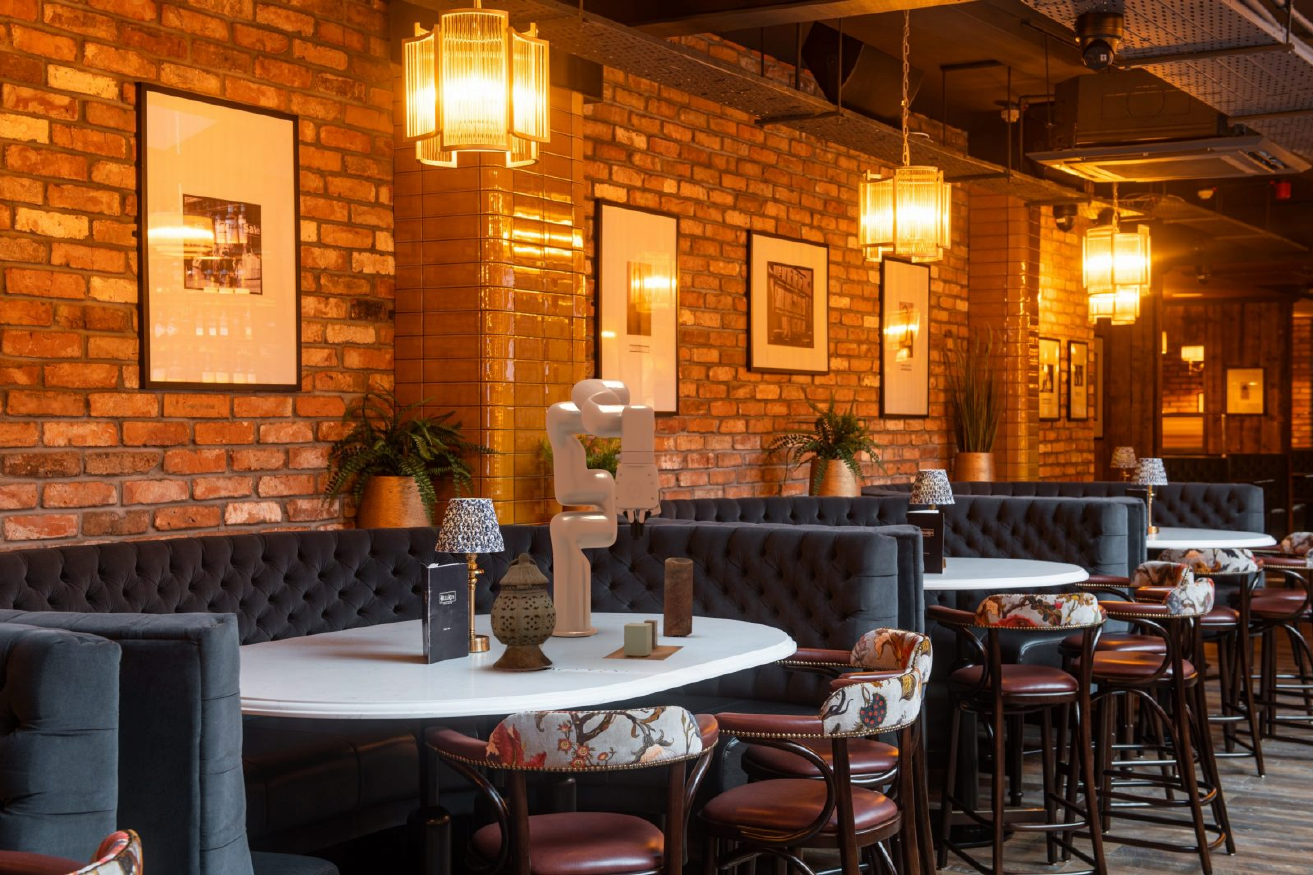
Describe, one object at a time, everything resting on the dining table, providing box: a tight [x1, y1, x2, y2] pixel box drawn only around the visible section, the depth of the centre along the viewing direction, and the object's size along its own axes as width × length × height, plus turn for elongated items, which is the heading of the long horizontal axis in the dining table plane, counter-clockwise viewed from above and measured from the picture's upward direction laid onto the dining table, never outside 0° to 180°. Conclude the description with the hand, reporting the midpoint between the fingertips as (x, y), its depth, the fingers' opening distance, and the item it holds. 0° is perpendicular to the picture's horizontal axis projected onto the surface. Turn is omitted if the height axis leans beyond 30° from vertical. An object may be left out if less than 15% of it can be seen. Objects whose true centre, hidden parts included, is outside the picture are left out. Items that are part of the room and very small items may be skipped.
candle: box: [662, 557, 694, 638], centre depth 348 cm, size 8×7×20 cm
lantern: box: [490, 552, 556, 673], centre depth 302 cm, size 14×14×25 cm
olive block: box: [623, 622, 652, 656], centre depth 312 cm, size 5×5×7 cm
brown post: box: [643, 619, 658, 649], centre depth 324 cm, size 3×3×6 cm
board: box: [602, 644, 685, 661], centre depth 318 cm, size 14×22×1 cm, turn 166°
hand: (637, 539), depth 313 cm, fingers closed
